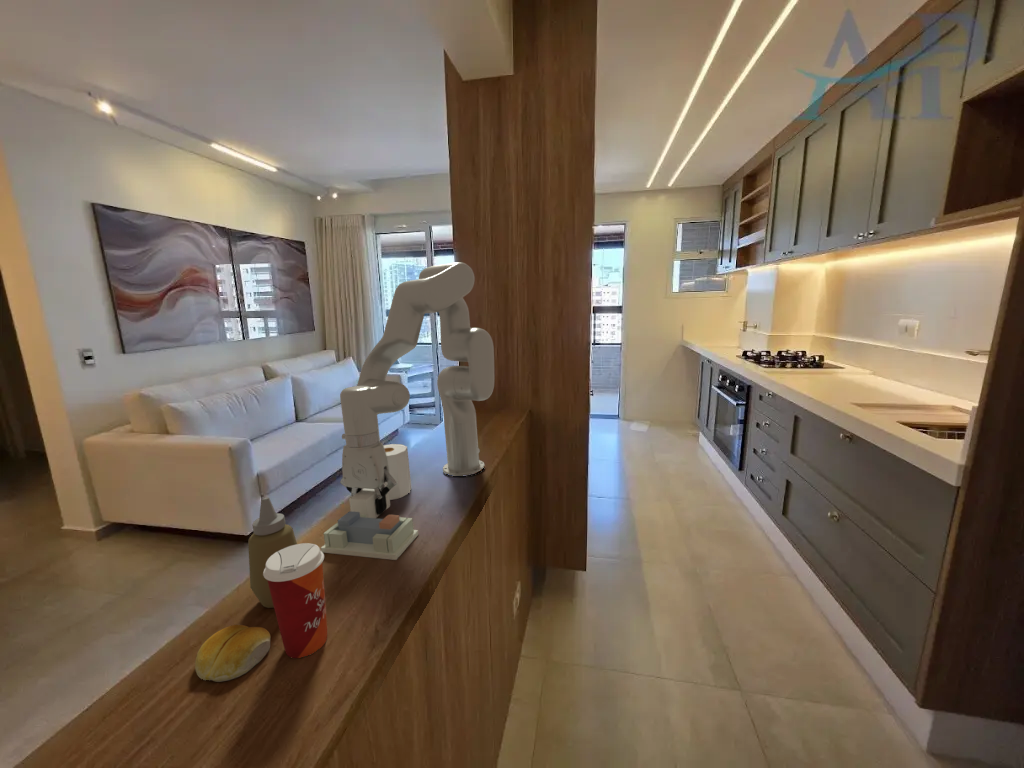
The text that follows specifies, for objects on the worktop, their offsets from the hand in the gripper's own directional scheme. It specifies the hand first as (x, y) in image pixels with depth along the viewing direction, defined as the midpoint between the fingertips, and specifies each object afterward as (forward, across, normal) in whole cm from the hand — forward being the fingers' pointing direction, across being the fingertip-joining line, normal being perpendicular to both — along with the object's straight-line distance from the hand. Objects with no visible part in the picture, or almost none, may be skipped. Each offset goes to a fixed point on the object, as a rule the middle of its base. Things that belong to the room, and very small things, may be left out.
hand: (371, 510), depth 100 cm
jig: (+1, +8, -12) cm, 14 cm away
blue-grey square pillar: (0, +8, -12) cm, 14 cm away
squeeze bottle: (+1, +2, -30) cm, 30 cm away
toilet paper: (+1, -2, +12) cm, 12 cm away
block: (+1, 0, 0) cm, 1 cm away
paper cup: (+1, +14, -38) cm, 40 cm away
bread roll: (+1, +5, -42) cm, 43 cm away
